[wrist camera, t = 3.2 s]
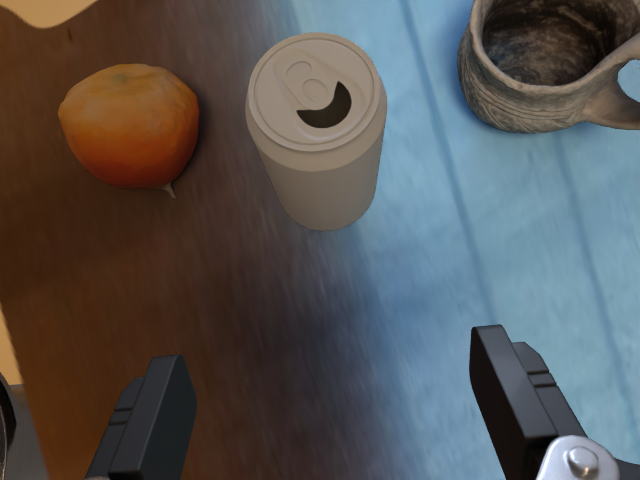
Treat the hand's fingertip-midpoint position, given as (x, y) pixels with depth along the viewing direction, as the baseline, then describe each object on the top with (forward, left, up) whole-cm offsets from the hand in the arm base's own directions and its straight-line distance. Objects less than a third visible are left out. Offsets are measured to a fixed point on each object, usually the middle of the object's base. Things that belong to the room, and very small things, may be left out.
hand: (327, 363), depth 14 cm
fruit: (-2, +19, -17) cm, 25 cm away
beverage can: (+6, +10, -17) cm, 20 cm away
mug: (+21, +7, -17) cm, 27 cm away
